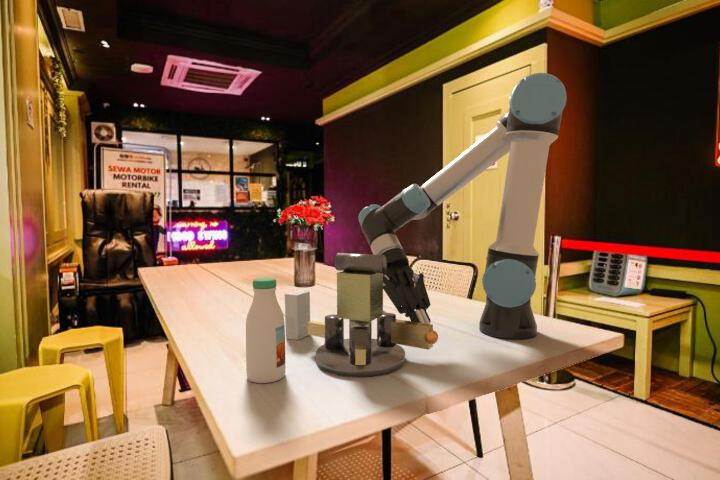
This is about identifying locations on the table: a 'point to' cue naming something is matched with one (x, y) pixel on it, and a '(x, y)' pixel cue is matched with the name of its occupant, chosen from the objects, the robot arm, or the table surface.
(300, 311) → the skincare box
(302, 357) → the table surface
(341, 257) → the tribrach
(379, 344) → the knob lever
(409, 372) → the table surface
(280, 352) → the milk bottle
